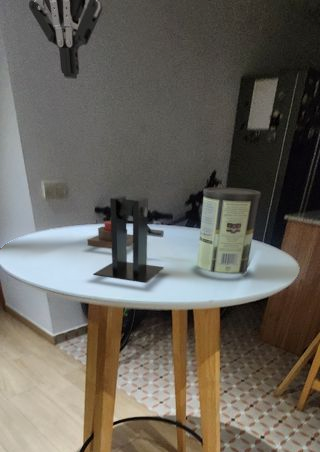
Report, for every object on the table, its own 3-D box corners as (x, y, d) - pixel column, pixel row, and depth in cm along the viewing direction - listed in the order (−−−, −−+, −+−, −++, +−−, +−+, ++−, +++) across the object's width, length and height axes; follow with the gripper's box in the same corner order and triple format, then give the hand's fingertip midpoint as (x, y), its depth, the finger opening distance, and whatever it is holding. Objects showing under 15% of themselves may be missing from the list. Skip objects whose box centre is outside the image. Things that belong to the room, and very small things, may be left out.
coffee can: (225, 261, 80) (236, 186, 71) (257, 275, 72) (273, 193, 64) (185, 266, 75) (192, 187, 67) (215, 281, 68) (227, 194, 60)
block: (87, 250, 82) (86, 230, 80) (106, 241, 90) (106, 223, 88) (120, 254, 81) (120, 234, 78) (136, 245, 88) (136, 227, 86)
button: (102, 231, 82) (101, 222, 81) (108, 228, 85) (108, 220, 84) (116, 233, 81) (116, 224, 80) (123, 230, 84) (122, 221, 83)
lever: (134, 237, 73) (136, 225, 73) (162, 241, 72) (164, 228, 72) (108, 213, 61) (111, 197, 61) (142, 216, 60) (144, 201, 59)
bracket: (116, 266, 73) (114, 192, 65) (163, 273, 71) (167, 197, 63) (93, 280, 65) (88, 198, 58) (145, 288, 63) (147, 204, 55)
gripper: (6, -85, 54) (26, 74, 64) (86, -93, 51) (94, 75, 61) (35, -62, 59) (49, 80, 70) (109, -69, 56) (113, 81, 67)
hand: (70, 77), depth 65 cm, fingers closed
